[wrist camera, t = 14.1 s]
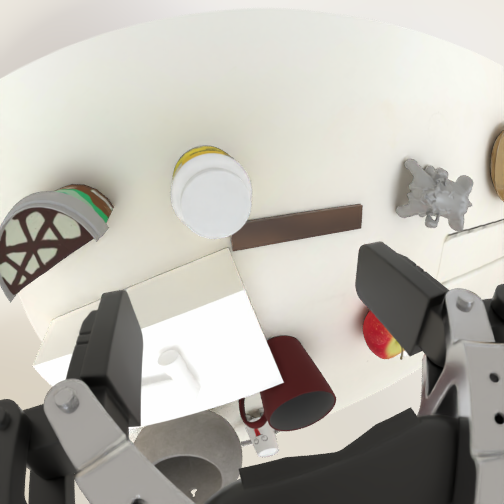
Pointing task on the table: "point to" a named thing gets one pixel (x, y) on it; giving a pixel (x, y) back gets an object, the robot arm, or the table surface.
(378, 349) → the apple
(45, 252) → the food container
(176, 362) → the tissue box
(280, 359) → the mug
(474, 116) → the table surface
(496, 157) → the plant saucer
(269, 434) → the toy figure
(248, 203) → the pill bottle
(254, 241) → the plank
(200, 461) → the planter
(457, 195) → the elephant statuette
